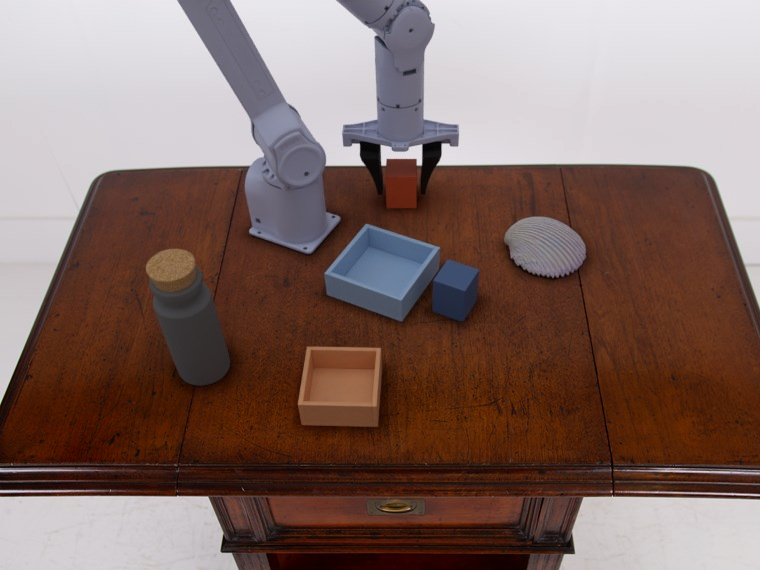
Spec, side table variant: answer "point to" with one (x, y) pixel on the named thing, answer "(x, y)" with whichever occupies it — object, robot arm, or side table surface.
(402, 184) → the terracotta block
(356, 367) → the warm bin
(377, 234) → the bin
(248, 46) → the robot arm
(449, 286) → the slate block
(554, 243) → the seashell
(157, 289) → the bottle
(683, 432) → the side table surface
